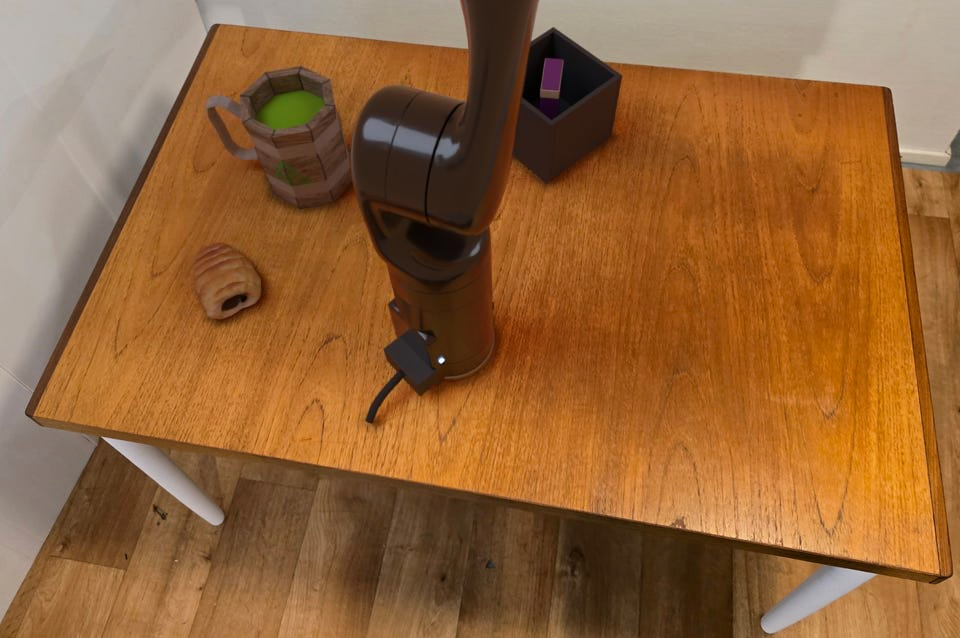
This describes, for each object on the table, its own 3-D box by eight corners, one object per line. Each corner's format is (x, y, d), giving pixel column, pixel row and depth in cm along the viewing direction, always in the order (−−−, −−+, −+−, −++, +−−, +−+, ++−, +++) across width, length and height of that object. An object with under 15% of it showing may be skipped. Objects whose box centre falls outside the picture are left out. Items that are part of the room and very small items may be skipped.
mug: (365, 145, 93) (348, 70, 82) (343, 214, 88) (321, 143, 77) (246, 131, 95) (214, 56, 84) (217, 198, 90) (179, 126, 79)
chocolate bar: (537, 144, 91) (540, 88, 83) (541, 114, 94) (545, 57, 86) (554, 146, 91) (559, 90, 83) (558, 115, 93) (563, 58, 86)
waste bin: (547, 184, 89) (551, 125, 81) (484, 133, 93) (482, 72, 85) (611, 136, 93) (622, 75, 84) (549, 89, 97) (553, 26, 88)
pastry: (185, 265, 85) (172, 246, 81) (240, 240, 86) (230, 220, 83) (213, 327, 81) (201, 309, 77) (271, 300, 82) (262, 281, 79)
